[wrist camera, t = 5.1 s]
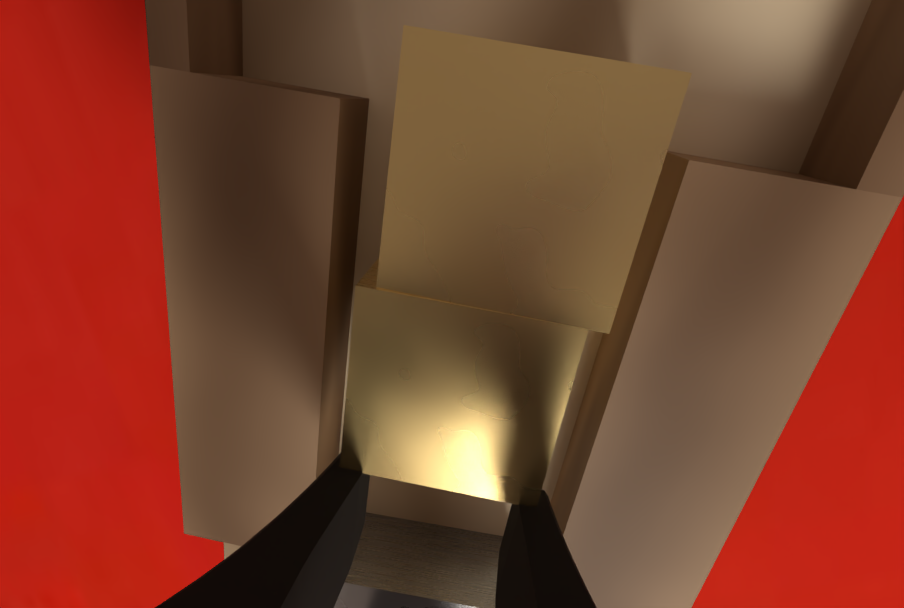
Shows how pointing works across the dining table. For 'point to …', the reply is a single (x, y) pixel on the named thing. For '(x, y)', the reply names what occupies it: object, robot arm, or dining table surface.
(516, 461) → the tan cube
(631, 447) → the slot board
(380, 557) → the brushed metal block
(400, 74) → the golden brown cube
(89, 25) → the dining table surface
